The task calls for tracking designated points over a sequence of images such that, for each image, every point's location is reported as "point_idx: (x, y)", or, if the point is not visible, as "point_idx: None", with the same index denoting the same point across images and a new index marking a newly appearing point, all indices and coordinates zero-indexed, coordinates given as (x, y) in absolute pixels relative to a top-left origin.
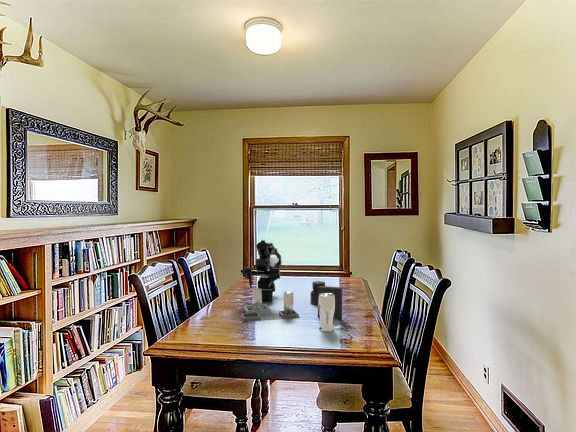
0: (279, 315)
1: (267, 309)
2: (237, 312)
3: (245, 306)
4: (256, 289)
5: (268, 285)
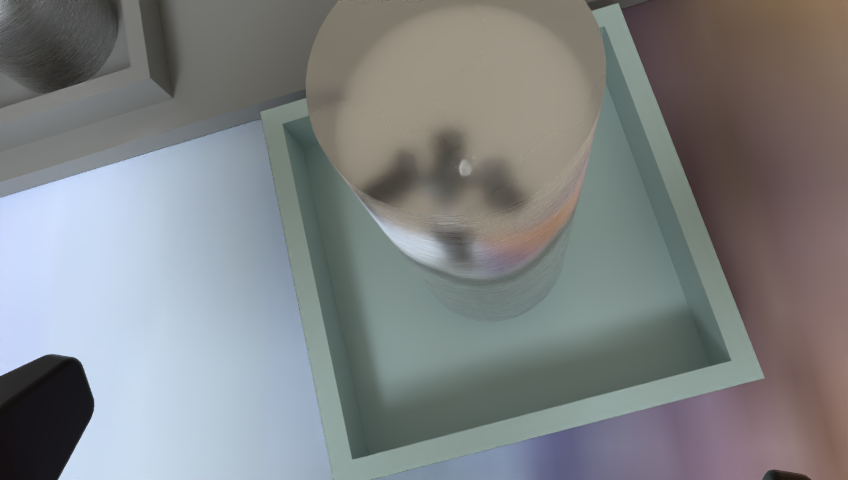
0: (169, 36)
1: (307, 111)
2: (828, 292)
3: (716, 298)
4: (465, 30)
5: (31, 373)
